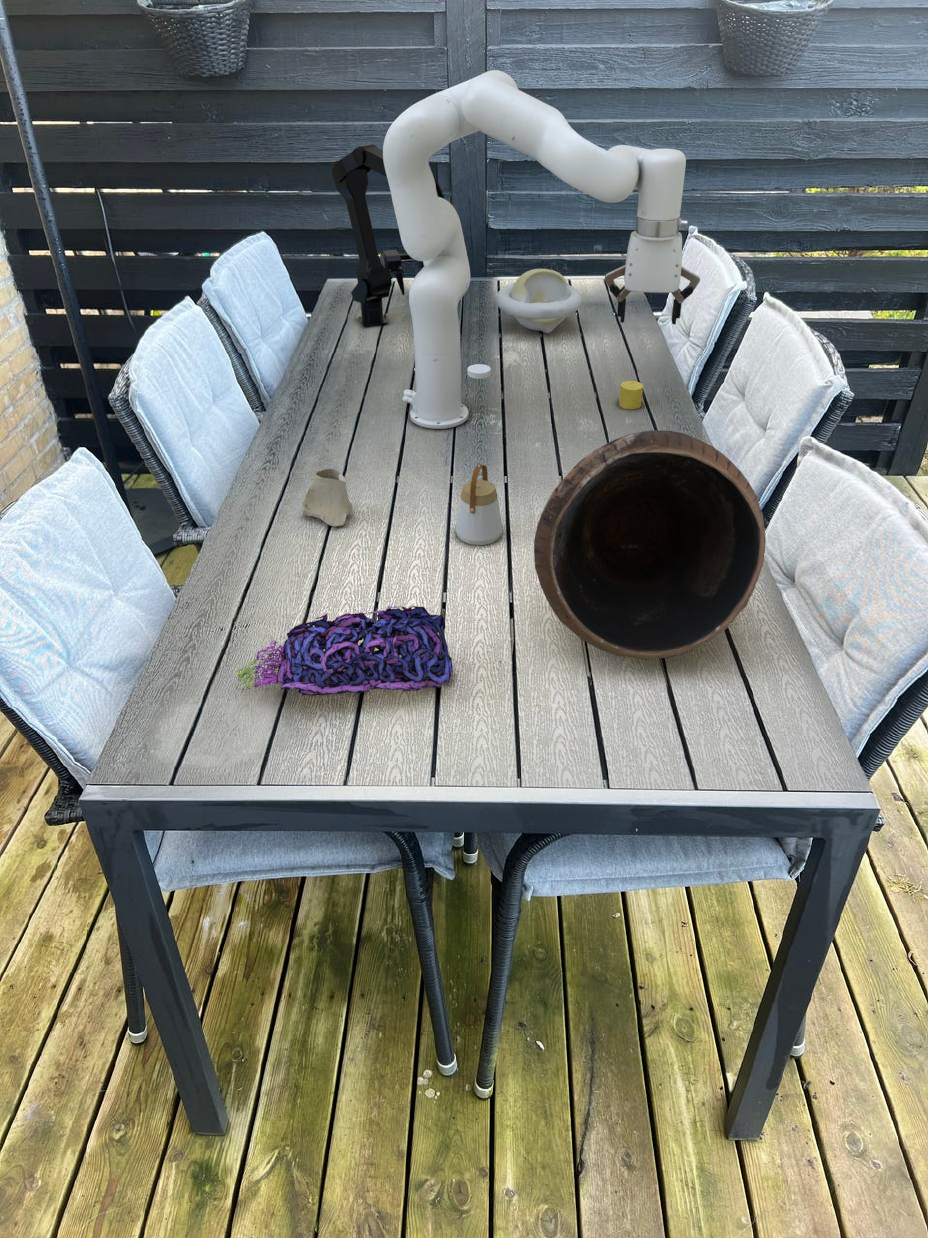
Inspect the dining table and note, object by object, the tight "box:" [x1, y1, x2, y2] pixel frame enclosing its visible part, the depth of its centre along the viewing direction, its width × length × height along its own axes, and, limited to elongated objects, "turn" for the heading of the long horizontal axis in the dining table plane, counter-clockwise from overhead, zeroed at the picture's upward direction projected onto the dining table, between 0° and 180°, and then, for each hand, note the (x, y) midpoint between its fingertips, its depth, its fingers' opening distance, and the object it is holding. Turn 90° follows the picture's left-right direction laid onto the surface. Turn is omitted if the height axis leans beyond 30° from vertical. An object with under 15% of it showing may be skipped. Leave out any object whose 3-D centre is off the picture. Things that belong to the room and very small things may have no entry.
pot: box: [533, 429, 767, 660], centre depth 139 cm, size 32×32×30 cm
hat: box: [495, 268, 583, 334], centre depth 236 cm, size 25×22×15 cm
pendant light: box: [455, 363, 503, 546], centre depth 153 cm, size 8×8×30 cm
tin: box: [618, 380, 644, 410], centre depth 203 cm, size 5×5×5 cm
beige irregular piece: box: [301, 468, 353, 528], centre depth 164 cm, size 9×8×10 cm
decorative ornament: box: [235, 605, 454, 697], centre depth 129 cm, size 13×11×30 cm
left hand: (421, 292), depth 228 cm, fingers open, 9 cm apart
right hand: (647, 320), depth 177 cm, fingers open, 9 cm apart
